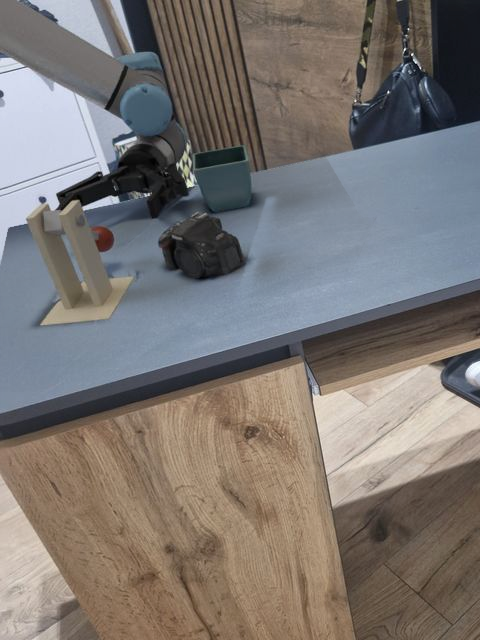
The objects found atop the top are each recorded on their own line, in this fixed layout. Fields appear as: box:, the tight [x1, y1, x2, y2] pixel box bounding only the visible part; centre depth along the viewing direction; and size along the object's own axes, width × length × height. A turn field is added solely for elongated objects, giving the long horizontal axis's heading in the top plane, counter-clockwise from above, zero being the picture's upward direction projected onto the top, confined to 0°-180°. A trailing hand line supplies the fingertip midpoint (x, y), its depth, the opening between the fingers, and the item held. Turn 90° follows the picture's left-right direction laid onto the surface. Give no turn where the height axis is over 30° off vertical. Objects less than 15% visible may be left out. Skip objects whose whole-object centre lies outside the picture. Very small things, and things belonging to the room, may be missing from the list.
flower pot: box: [192, 144, 252, 213], centre depth 105 cm, size 9×9×9 cm
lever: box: [43, 209, 115, 253], centre depth 84 cm, size 14×4×4 cm
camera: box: [157, 211, 246, 280], centre depth 87 cm, size 11×8×9 cm
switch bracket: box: [25, 200, 135, 327], centre depth 81 cm, size 11×9×14 cm
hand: (105, 214), depth 91 cm, fingers open, 13 cm apart
